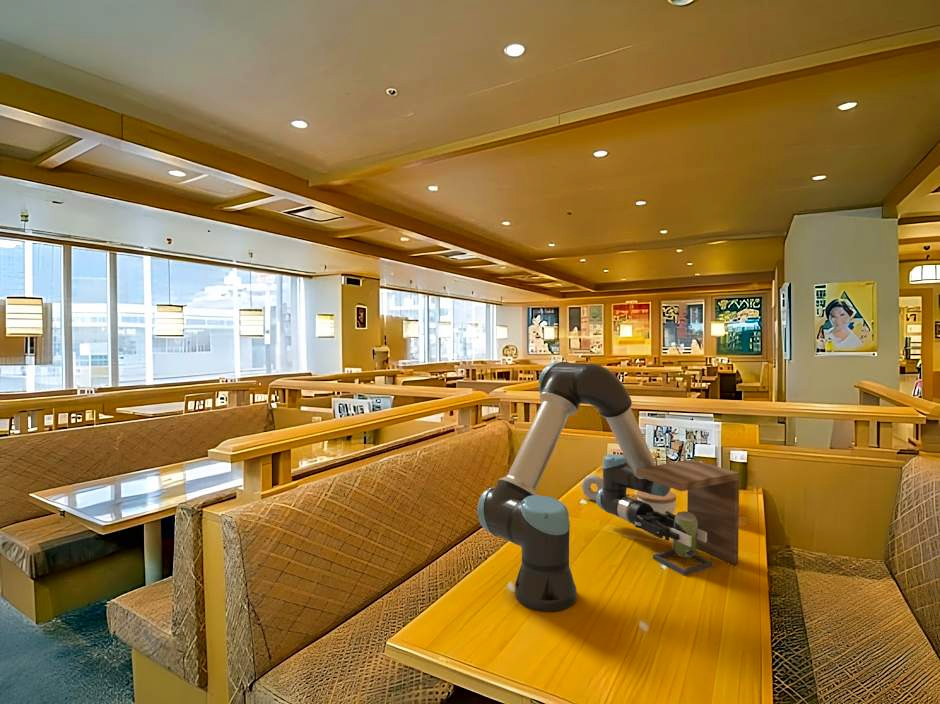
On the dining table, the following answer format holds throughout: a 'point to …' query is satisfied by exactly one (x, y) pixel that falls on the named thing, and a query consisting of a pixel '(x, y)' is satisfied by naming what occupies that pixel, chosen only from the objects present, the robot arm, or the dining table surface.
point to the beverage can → (689, 526)
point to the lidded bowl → (659, 501)
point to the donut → (587, 483)
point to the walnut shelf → (705, 502)
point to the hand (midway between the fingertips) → (698, 539)
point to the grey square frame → (686, 571)
